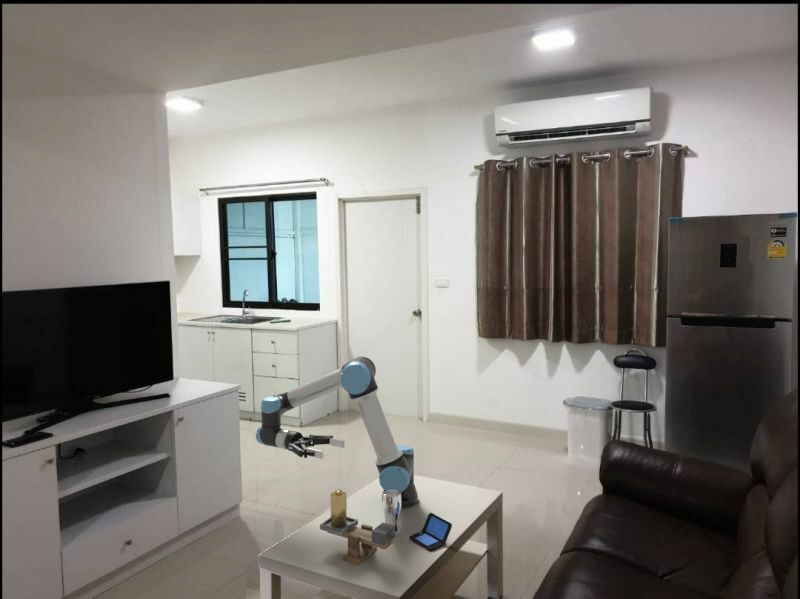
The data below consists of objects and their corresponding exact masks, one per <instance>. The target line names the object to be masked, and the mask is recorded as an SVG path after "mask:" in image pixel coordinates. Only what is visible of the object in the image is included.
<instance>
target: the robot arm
mask: <svg viewBox="0 0 800 599" xmlns="http://www.w3.org/2000/svg"><path fill="white" fill-rule="evenodd" d="M376 370H377V369H376V365H375V363H374V362H373V360H371V358H369V357H366V356H357V357H354V358H353V359H352V360H350V361H348V362H347V363H345V364H342V365H341V366H340V368H338V369H336V370H334V371H332V372H329V373H327V374H324V375H322V376H319V377H318V378H315V379H313V380H311V381H309V382H307V383H304V384H302V385H299V386H297V387H295V388H293V389H290V390H288V391H286V392H282V393H279V394H277V395H276V396H267V397H264V398H262V400H261V404H260V406H261V407H260V412H261V425H260V426H259V427H258V428H257V430H256V433H255V439H256V442H258V443H259V444H261V445H264V446H265V447H266V446H267V447H274V448H277V449H283V450H284V451H286V450H288V451H289V452H292V453H294V454H295V455H296V456H298V457H299V458H303V457H304V459H307V458H308V457H312V458H317V459H321V460H323V459H324V451H323V450H320V449H316V448H310V447H315V446H319V445H321V446H322V445H329V446H332V447H336V448H337V447H338V448H343V449H344V448H345V440H344V439H340V438H334V436H333V435H332V434H330V435H323V434H321V435H320V434H319V435H318V434H317V435H315V434H309V435H308V436H303V434H302V433H301V431H300V432H299V431H294V430H290V429H285V428H282V427H281V425H282V424H281V422H282V420H281V417H282V416H283V415H284V414H285V413H287V412H288V411H290V410H293V409H296V408H297V407H299V406H301V405H304V404H307V403H309V402H311V401H314V400H316V399H318V398H320V397H323V396H325V395H329V394H330V393H332V392H334V391H337V390H339V389H344V390H345V391H346V392H347V393H348V396H349V399H350V400H351V401H354V402H355V403H356V405H357V409H358V410H359V413H360V414H359V415H360V416H361V419H362V421H363V424H364V426H365V429H366V432H367V434H368V437H369V439H370V442H371V444H372V448H373V449H374V454H375V455H376V460H375V463H374V464H375V466H376V469H377V471H378V473H379V475H378V482H379V485H380V486H381V489H382V494H381V501H382V503H383V493H384V491H386V490H389V489H395V490H399V491H400V492H401V509H402V508H403V509H404V508H409V507H412V505H413V506H414V504H415V505H416V504H417V503H418V502H419V494H418V492H417V487H416V485H415V482H414V481H415V474H414V472H415V468H414V464H415V462H414V461H415V452H414V448H413V447H411V446H409V445H402V444H401V445H400V444H397V445H396V442H395V439H394V437H393V434H392V431H391V429H390V426H389V423H388V421H387V418H386V416H385V413H384V410H383V408H382V405H381V402H380V400H379V398H378V395H377V392H378V390H379V387H378V384H377V381H376V379H375V377H376V374H377V372H376ZM417 501H418V502H417Z"/></svg>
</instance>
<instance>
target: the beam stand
mask: <svg viewBox="0 0 800 599" xmlns="http://www.w3.org/2000/svg"><path fill="white" fill-rule="evenodd" d="M360 528H362V529H365V530H369V531H372V530H374V528H373V526H371V525H368V524H366V523H362V524H361V525H360ZM377 549H378V547H375V546H372V545H368V544H365V543H361V542H360V536H357V535H353V534H349V535H348V538H347V553H346V555H344V556H343V561H345V562H348V563H352V564H355V565H359V564H361V562H363V561H364V560H366V558H368V557H369V556H371V555H372V553H373V552H375V551H376V550H377Z"/></svg>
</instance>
